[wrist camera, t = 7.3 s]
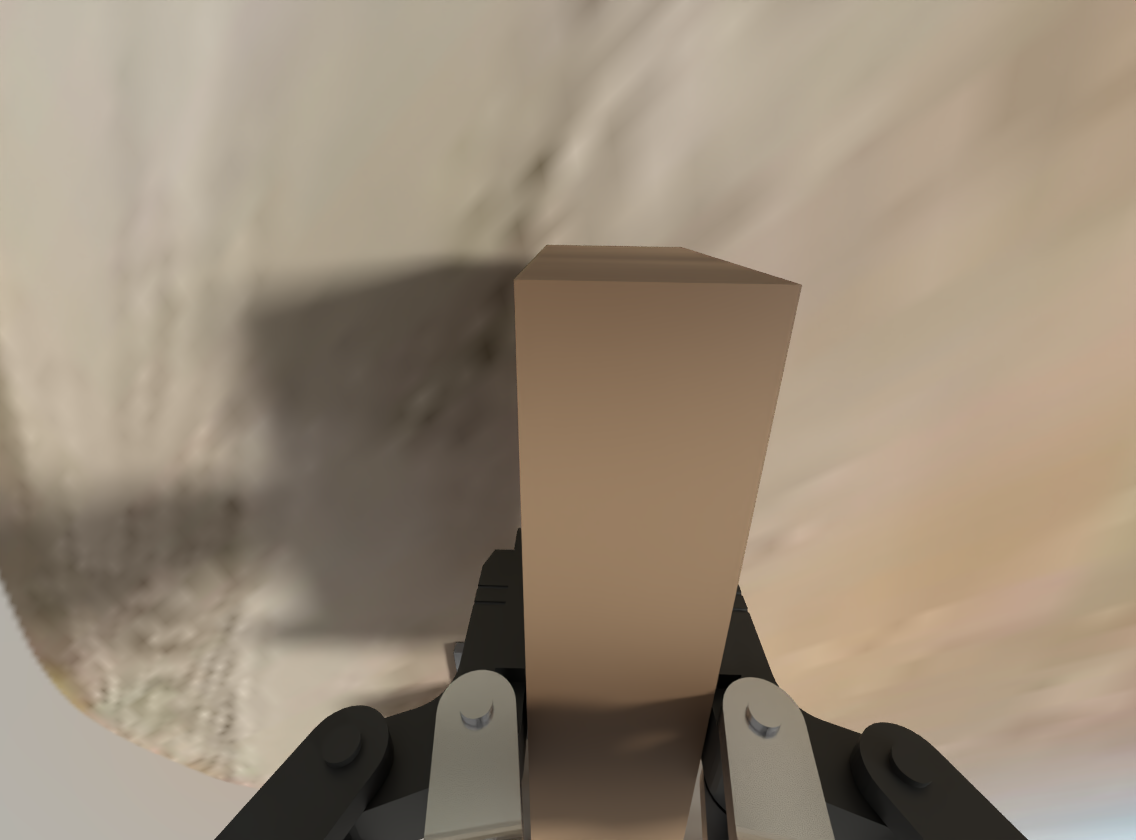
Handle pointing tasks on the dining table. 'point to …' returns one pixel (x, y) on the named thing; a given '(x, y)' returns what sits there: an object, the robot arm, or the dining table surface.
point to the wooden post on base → (635, 520)
